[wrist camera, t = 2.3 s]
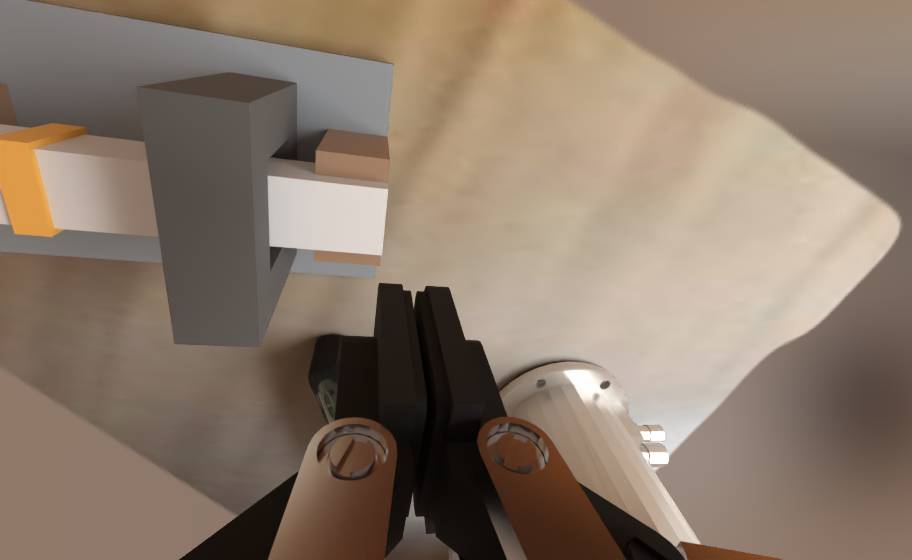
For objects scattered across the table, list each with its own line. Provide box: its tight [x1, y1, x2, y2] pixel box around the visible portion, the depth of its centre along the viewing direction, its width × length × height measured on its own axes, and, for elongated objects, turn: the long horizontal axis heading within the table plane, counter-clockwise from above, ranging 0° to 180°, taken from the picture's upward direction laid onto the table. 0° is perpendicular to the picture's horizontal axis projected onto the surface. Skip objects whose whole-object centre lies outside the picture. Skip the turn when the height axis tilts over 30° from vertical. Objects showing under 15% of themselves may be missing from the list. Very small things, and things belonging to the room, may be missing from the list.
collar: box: [137, 72, 297, 347], centre depth 19 cm, size 3×9×9 cm, turn 171°
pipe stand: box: [0, 0, 394, 278], centre depth 20 cm, size 20×12×8 cm, turn 81°
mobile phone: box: [309, 335, 343, 425], centre depth 32 cm, size 5×3×15 cm
